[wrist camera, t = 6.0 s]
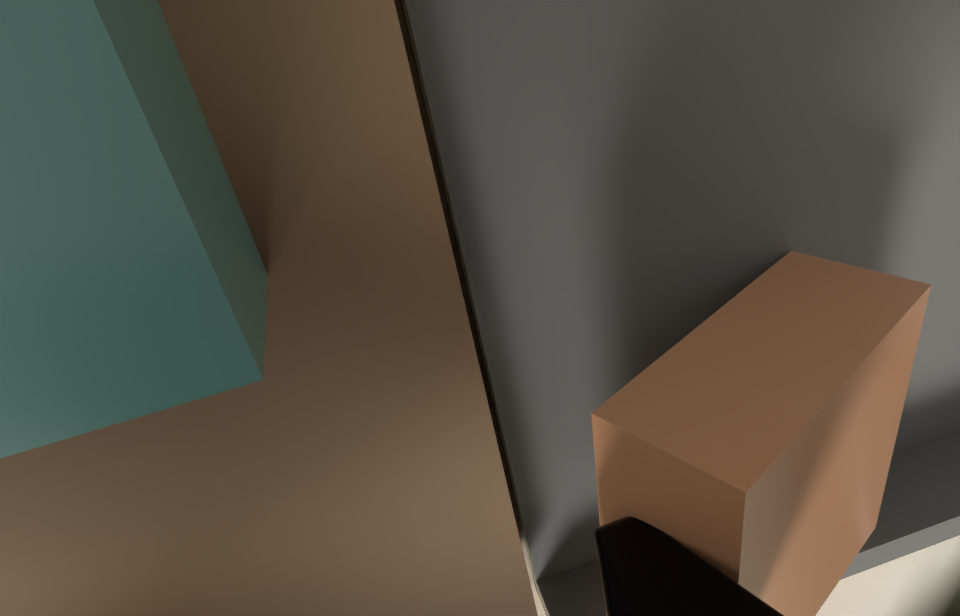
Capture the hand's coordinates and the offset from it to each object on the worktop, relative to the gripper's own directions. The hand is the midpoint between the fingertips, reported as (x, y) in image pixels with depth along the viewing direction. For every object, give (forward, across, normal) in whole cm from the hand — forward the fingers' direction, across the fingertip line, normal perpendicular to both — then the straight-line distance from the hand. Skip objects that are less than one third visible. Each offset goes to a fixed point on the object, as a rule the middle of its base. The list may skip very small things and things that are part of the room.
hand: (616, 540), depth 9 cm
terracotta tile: (+2, -2, +1) cm, 3 cm away
